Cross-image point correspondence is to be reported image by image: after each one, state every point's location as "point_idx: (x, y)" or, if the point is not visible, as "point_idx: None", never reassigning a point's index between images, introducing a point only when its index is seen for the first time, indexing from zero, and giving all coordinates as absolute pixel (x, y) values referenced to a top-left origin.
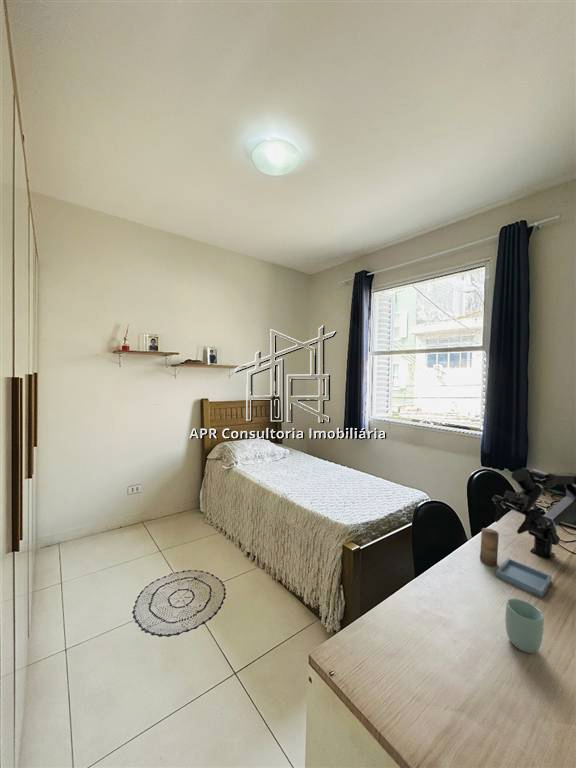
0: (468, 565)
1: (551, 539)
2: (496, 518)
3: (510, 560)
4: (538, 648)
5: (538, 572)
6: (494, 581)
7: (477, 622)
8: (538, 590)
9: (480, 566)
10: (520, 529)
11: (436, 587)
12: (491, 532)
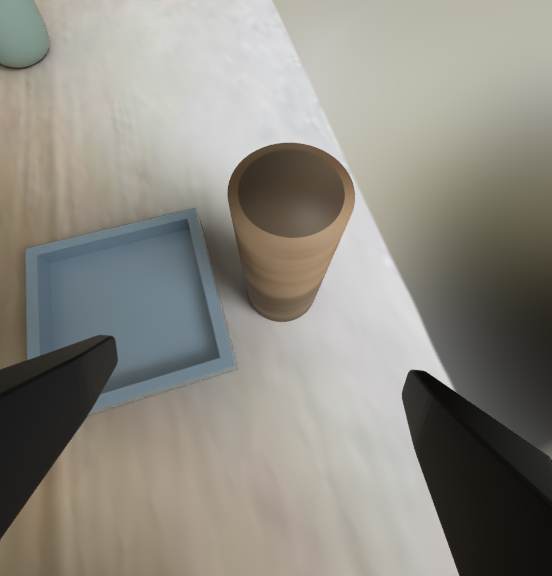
0: None
1: None
2: (427, 389)
3: (217, 359)
4: None
5: None
6: (186, 193)
7: (117, 32)
8: (41, 246)
9: None
10: (51, 352)
11: (245, 38)
12: (274, 184)
